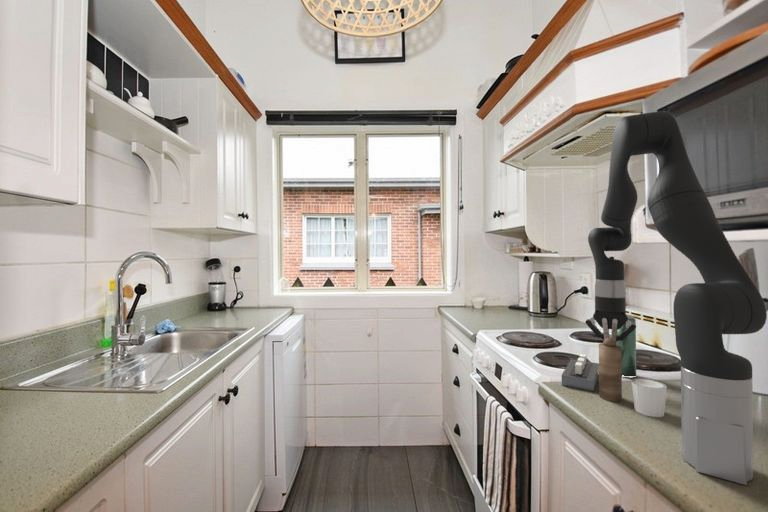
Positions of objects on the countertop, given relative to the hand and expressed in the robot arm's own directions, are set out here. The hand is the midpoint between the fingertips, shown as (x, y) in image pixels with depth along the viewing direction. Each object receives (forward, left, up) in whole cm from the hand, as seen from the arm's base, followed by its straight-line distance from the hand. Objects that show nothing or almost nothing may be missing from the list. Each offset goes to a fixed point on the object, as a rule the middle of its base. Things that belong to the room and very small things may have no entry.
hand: (610, 353), depth 98 cm
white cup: (-15, -8, -9) cm, 20 cm away
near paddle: (-5, +8, -6) cm, 11 cm away
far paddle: (+5, +8, -6) cm, 11 cm away
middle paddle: (0, +8, -6) cm, 10 cm away
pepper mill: (-11, 0, -9) cm, 14 cm away
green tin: (+11, -3, -9) cm, 15 cm away
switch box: (0, +8, -9) cm, 12 cm away
